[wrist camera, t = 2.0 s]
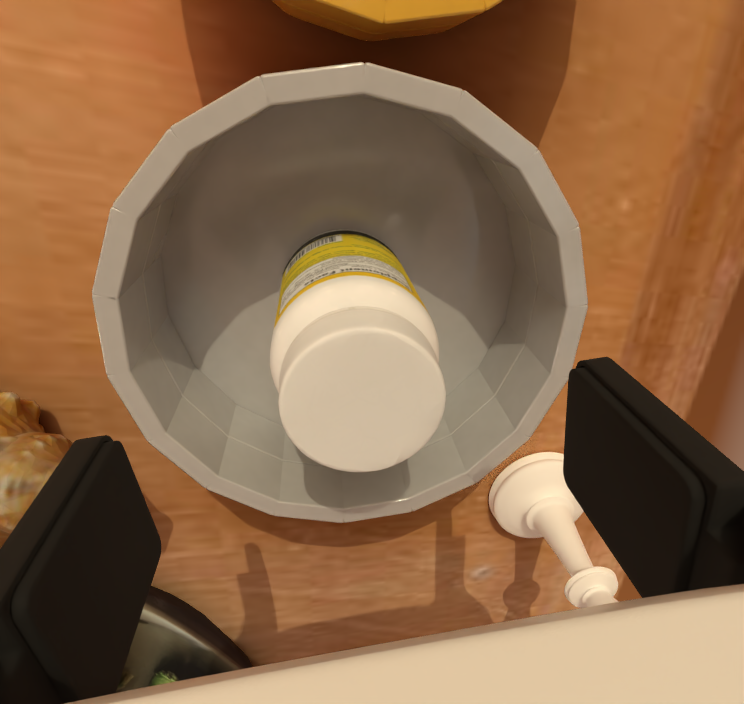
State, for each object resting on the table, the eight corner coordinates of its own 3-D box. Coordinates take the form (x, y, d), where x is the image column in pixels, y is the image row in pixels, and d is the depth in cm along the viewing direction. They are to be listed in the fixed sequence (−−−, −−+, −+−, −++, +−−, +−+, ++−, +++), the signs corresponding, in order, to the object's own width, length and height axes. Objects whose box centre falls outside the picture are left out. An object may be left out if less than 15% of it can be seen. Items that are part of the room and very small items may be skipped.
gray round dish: (84, 104, 16) (-1, 107, 12) (533, 47, 17) (611, 30, 13) (202, 462, 23) (175, 551, 18) (524, 412, 24) (574, 486, 19)
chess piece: (504, 447, 24) (616, 651, 15) (600, 455, 25) (758, 654, 16) (476, 526, 26) (560, 746, 17) (566, 531, 27) (690, 745, 18)
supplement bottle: (384, 357, 21) (423, 501, 14) (268, 331, 20) (241, 470, 13) (423, 245, 19) (493, 340, 12) (297, 209, 18) (286, 289, 11)
